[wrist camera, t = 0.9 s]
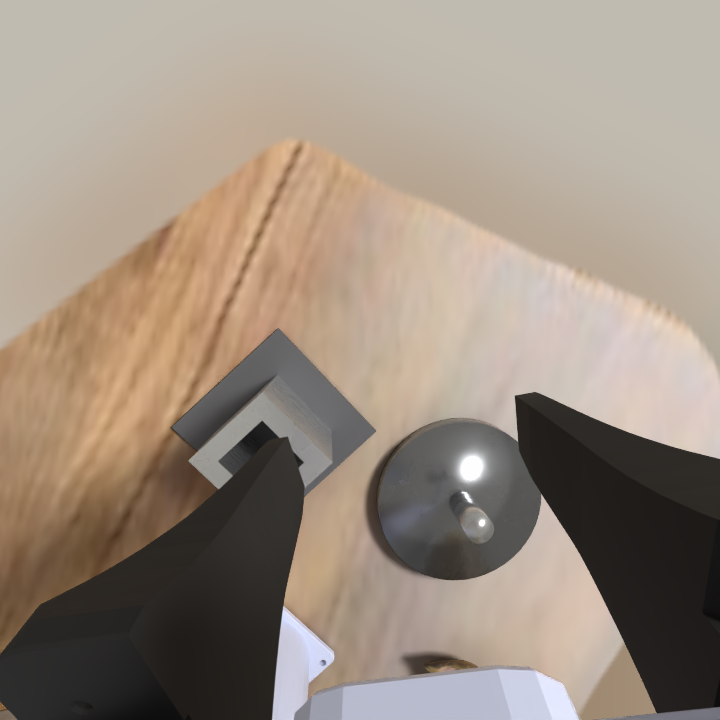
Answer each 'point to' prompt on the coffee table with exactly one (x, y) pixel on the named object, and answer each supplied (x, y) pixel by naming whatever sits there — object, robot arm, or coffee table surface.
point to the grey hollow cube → (283, 418)
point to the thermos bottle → (6, 715)
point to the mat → (301, 378)
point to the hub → (457, 499)
